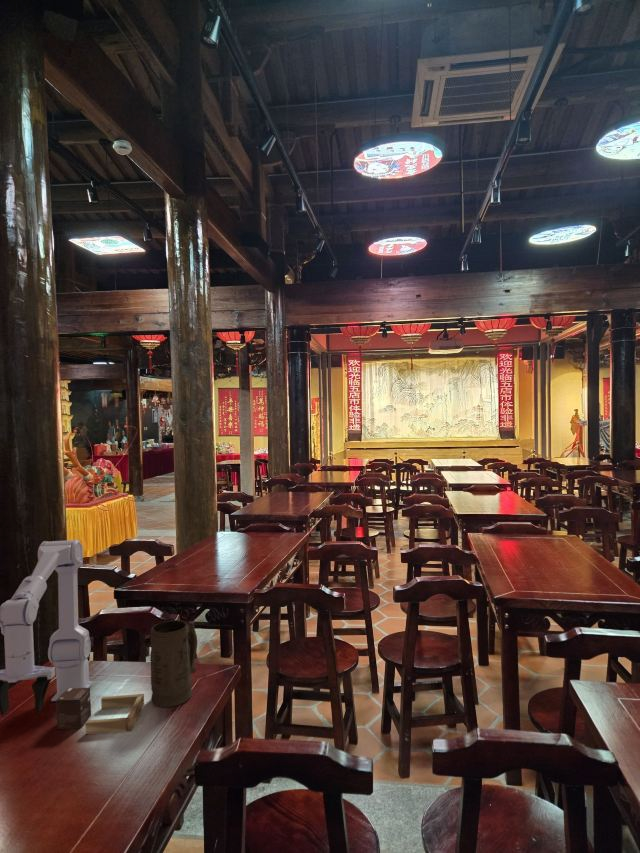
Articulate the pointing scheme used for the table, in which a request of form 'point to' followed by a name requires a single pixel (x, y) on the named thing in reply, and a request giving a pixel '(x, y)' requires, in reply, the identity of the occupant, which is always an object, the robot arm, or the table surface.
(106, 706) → the slot rails
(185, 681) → the beer stein
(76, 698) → the box
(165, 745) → the table surface
